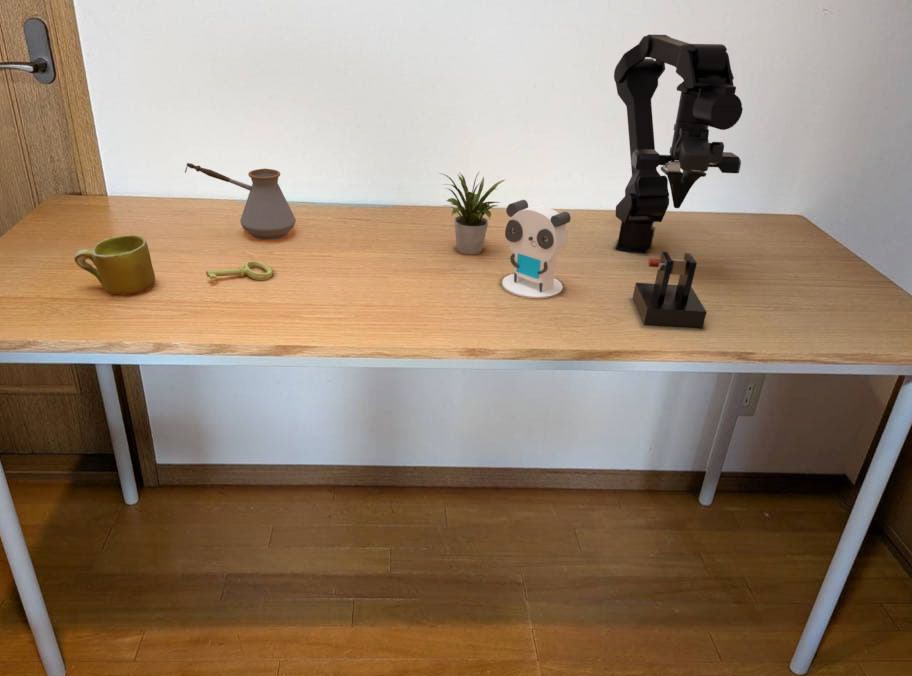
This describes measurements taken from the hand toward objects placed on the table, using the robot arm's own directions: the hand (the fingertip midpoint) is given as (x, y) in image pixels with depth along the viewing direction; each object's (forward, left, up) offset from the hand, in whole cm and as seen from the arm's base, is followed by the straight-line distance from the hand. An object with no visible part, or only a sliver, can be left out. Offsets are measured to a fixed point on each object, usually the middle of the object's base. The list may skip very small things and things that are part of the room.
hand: (676, 207), depth 142 cm
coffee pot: (-84, -22, -13) cm, 88 cm away
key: (-72, -40, -13) cm, 83 cm away
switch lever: (+2, -17, -6) cm, 18 cm away
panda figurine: (-22, -19, -13) cm, 32 cm away
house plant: (-40, -8, -13) cm, 43 cm away
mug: (-88, -55, -13) cm, 104 cm away
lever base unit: (+3, -20, -13) cm, 24 cm away
